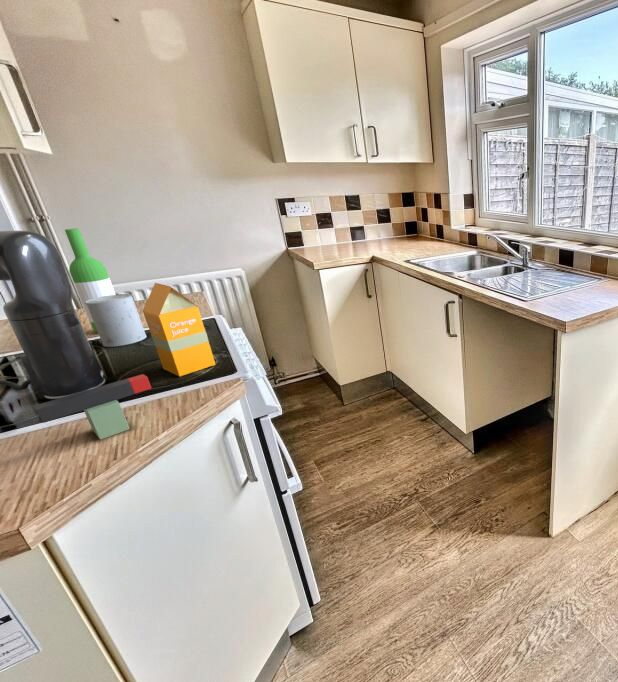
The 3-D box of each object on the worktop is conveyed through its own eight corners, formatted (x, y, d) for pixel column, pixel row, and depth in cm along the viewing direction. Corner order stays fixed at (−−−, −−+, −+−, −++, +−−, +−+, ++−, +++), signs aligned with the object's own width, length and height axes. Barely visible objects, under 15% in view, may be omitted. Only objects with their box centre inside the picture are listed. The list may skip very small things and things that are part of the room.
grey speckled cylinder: (94, 344, 117) (77, 301, 112) (134, 333, 125) (119, 293, 120) (115, 348, 113) (97, 304, 109) (154, 336, 121) (139, 295, 117)
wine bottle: (90, 331, 128) (48, 230, 117) (122, 324, 134) (85, 227, 123) (99, 335, 124) (56, 231, 113) (132, 327, 130) (94, 227, 119)
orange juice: (179, 376, 95) (149, 290, 88) (162, 368, 99) (132, 286, 92) (216, 364, 101) (191, 282, 94) (199, 357, 106) (174, 279, 98)
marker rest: (100, 439, 72) (87, 411, 70) (93, 430, 75) (80, 403, 73) (129, 429, 75) (118, 401, 73) (121, 420, 78) (110, 394, 76)
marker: (43, 422, 67) (36, 409, 66) (40, 418, 68) (34, 405, 67) (151, 388, 77) (147, 376, 76) (147, 385, 79) (143, 373, 78)
